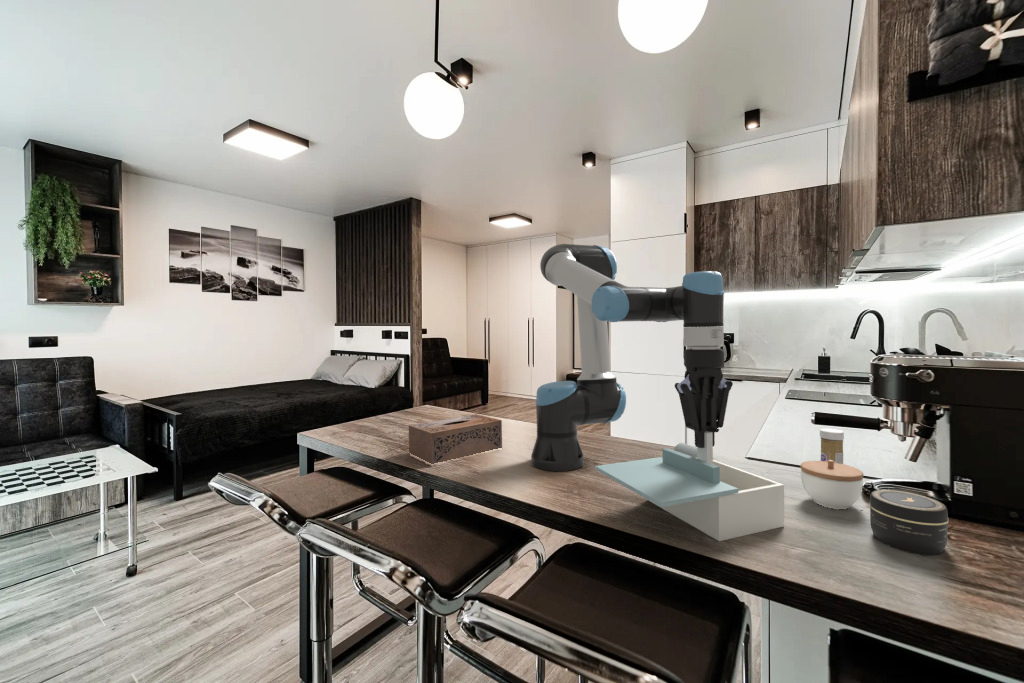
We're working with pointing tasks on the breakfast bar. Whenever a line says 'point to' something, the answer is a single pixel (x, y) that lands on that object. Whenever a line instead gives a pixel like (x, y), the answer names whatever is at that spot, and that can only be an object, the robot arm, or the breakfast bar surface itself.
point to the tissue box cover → (454, 437)
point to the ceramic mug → (686, 449)
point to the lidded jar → (832, 483)
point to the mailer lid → (669, 478)
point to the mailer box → (736, 506)
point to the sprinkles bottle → (832, 445)
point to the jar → (909, 521)
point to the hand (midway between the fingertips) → (704, 462)
